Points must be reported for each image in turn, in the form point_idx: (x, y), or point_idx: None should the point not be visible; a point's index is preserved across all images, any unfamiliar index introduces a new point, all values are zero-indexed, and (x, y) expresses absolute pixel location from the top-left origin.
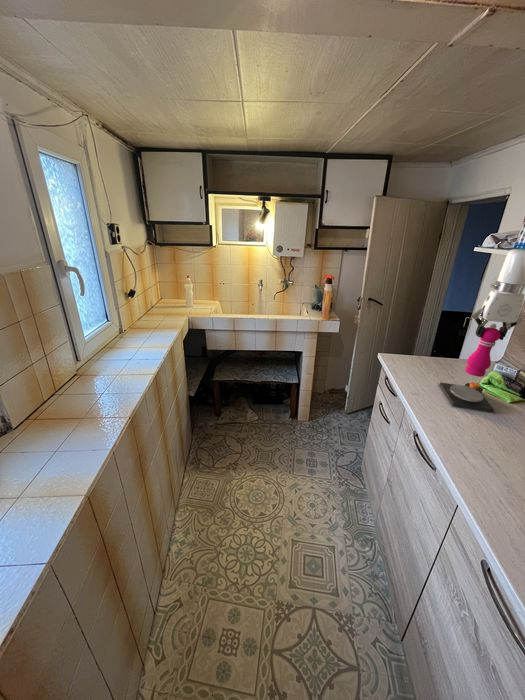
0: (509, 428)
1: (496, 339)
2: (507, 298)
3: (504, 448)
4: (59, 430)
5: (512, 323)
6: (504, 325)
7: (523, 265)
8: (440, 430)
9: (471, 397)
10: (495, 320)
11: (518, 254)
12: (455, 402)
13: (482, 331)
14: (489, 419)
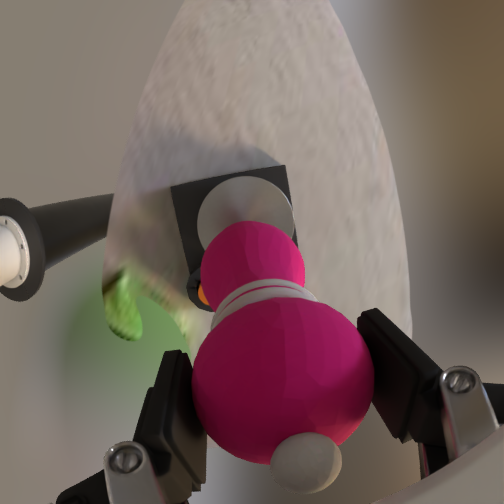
0: (151, 123)
1: (231, 313)
2: None
3: (192, 37)
4: None
5: None
6: (175, 501)
7: None
8: (321, 45)
9: (237, 193)
10: (452, 481)
11: None
12: (278, 172)
13: (402, 341)
14: (191, 141)
